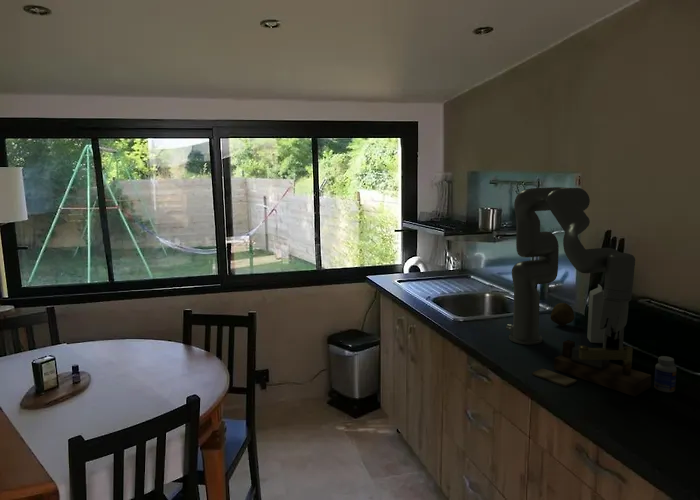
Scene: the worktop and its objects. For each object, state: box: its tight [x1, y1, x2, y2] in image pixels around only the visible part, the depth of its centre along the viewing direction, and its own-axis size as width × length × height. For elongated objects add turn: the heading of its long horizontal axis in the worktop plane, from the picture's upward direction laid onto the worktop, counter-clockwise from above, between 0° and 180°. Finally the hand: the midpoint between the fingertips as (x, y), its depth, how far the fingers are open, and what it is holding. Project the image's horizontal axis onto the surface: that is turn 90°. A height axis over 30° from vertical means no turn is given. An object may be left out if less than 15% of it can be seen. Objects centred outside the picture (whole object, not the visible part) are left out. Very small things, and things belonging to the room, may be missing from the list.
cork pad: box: [531, 368, 577, 388], centre depth 158 cm, size 12×6×1 cm, turn 35°
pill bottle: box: [653, 355, 678, 393], centre depth 147 cm, size 5×5×10 cm
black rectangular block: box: [571, 344, 610, 371], centre depth 158 cm, size 10×4×4 cm, turn 35°
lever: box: [579, 344, 634, 375], centre depth 150 cm, size 15×2×9 cm, turn 85°
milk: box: [586, 283, 605, 344], centre depth 188 cm, size 6×6×22 cm
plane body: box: [553, 339, 653, 398], centre depth 156 cm, size 26×10×9 cm, turn 35°
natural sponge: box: [550, 302, 575, 327], centre depth 207 cm, size 9×9×10 cm
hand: (612, 349), depth 152 cm, fingers closed
